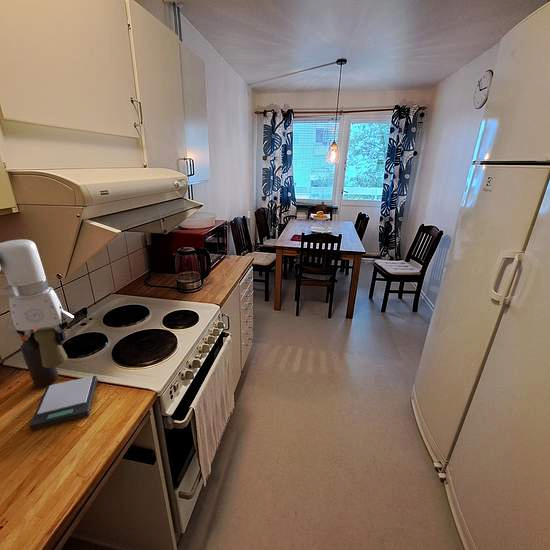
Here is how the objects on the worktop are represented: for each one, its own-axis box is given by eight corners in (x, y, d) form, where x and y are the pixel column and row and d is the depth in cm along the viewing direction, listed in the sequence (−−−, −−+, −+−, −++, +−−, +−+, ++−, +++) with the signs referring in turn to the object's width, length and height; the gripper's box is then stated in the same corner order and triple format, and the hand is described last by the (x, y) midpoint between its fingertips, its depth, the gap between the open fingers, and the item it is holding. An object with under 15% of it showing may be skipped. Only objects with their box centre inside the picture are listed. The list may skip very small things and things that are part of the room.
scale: (31, 431, 79) (28, 424, 78) (48, 391, 93) (46, 385, 92) (89, 416, 84) (87, 409, 83) (97, 379, 98) (96, 374, 97)
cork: (37, 364, 82) (25, 332, 78) (58, 352, 87) (48, 321, 83) (51, 369, 80) (40, 337, 76) (72, 357, 85) (62, 325, 81)
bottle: (42, 390, 93) (23, 338, 86) (29, 384, 96) (9, 333, 88) (63, 376, 99) (47, 327, 92) (50, 371, 102) (33, 323, 94)
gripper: (-20, 298, 68) (6, 359, 75) (64, 288, 74) (81, 345, 81) (-5, 286, 75) (18, 343, 82) (71, 277, 81) (86, 332, 88)
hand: (49, 344), depth 81 cm, fingers closed on cork, 5 cm apart
